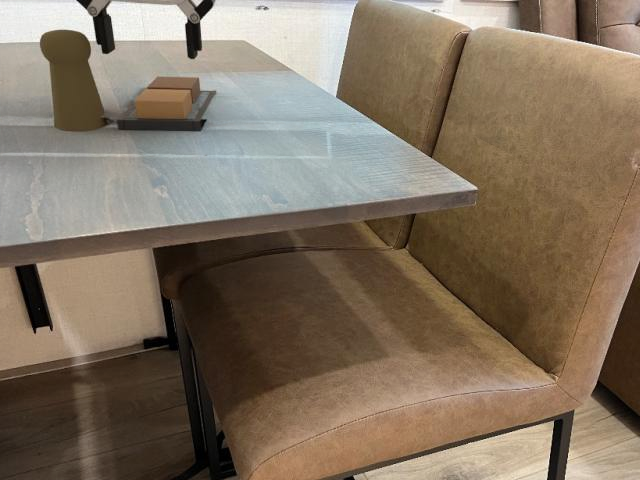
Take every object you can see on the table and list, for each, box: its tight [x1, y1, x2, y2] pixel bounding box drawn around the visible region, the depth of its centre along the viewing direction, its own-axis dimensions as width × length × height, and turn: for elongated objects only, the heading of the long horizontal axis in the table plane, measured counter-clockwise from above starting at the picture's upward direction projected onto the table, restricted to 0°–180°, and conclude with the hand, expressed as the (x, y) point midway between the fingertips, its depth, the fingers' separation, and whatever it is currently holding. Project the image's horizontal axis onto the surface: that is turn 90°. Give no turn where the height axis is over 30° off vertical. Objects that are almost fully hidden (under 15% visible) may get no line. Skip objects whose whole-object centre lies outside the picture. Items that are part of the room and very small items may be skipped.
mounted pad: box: [146, 76, 202, 105], centre depth 86 cm, size 6×6×3 cm
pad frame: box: [116, 90, 217, 132], centre depth 83 cm, size 10×16×2 cm, turn 7°
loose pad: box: [133, 88, 193, 119], centre depth 79 cm, size 6×6×3 cm
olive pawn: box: [39, 29, 109, 133], centre depth 75 cm, size 6×6×11 cm
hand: (151, 54), depth 76 cm, fingers open, 9 cm apart
